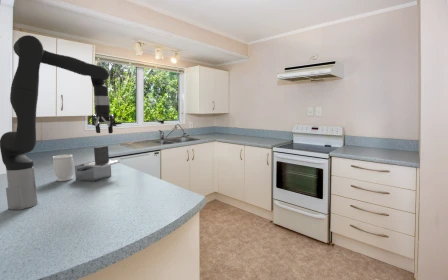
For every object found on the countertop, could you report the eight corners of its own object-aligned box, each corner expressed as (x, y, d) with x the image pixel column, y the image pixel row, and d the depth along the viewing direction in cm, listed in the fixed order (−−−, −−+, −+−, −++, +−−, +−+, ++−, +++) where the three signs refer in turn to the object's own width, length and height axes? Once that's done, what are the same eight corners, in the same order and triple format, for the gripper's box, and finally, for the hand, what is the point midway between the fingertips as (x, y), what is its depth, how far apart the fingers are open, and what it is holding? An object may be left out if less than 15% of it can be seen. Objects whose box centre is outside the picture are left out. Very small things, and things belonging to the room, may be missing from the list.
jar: (64, 182, 141) (62, 157, 139) (50, 181, 143) (47, 157, 141) (78, 177, 151) (77, 154, 149) (65, 176, 153) (63, 153, 151)
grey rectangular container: (90, 183, 139) (89, 168, 138) (71, 181, 143) (70, 166, 142) (114, 174, 158) (113, 161, 157) (97, 173, 162) (96, 160, 161)
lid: (102, 167, 139) (101, 148, 137) (83, 166, 142) (82, 147, 141) (119, 162, 152) (118, 145, 151) (101, 161, 156) (100, 144, 154)
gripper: (117, 104, 135) (119, 132, 137) (97, 104, 139) (99, 132, 141) (107, 104, 128) (109, 134, 130) (86, 104, 132) (89, 133, 134)
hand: (104, 133), depth 136 cm, fingers open, 8 cm apart
